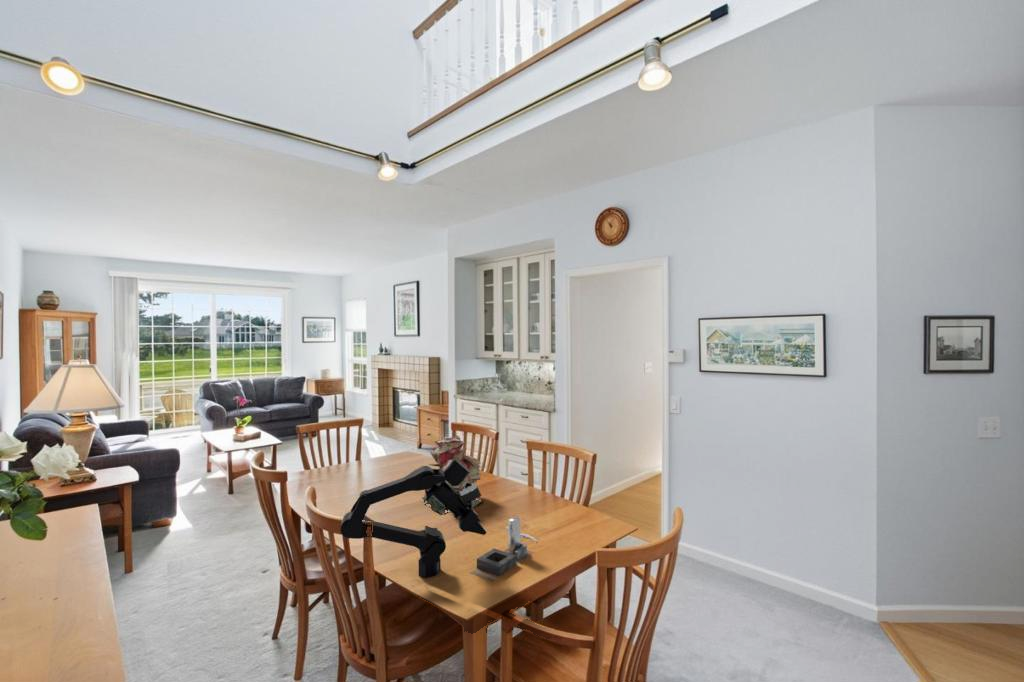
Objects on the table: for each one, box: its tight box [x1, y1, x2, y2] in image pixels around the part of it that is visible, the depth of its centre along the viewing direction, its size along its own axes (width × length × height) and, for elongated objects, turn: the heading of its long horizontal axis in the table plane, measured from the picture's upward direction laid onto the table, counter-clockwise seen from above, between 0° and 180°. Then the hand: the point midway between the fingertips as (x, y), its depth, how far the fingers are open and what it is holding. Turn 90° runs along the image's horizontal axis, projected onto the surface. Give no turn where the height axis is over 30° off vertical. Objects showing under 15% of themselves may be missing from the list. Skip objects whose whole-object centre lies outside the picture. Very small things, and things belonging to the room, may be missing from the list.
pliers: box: [505, 525, 538, 543], centre depth 176 cm, size 10×2×15 cm
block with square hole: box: [469, 541, 535, 582], centre depth 153 cm, size 23×9×4 cm, turn 145°
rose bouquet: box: [414, 434, 484, 515], centre depth 214 cm, size 26×29×30 cm
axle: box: [507, 516, 521, 555], centre depth 158 cm, size 4×4×12 cm
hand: (482, 527), depth 151 cm, fingers open, 9 cm apart
